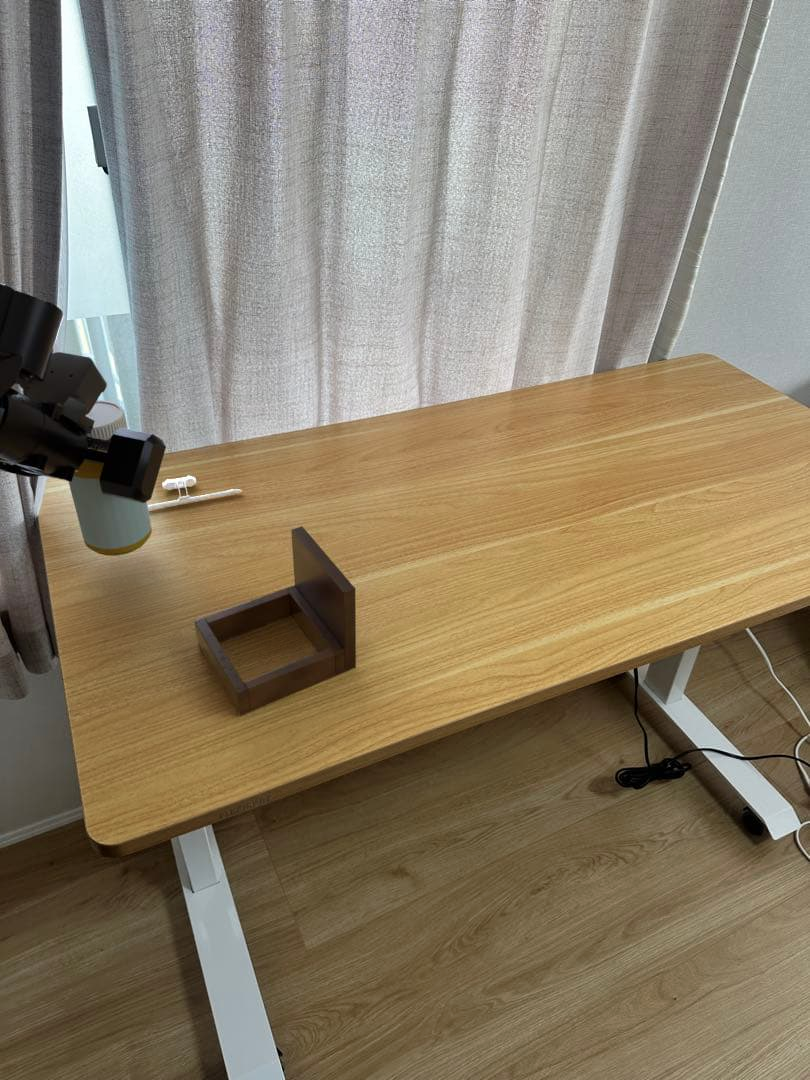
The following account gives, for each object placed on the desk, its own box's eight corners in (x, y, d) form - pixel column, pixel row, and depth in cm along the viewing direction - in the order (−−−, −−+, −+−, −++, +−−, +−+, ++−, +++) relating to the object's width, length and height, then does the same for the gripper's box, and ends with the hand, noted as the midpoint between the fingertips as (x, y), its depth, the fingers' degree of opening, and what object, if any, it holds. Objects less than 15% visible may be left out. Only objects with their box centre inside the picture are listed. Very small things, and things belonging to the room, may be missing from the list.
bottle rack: (240, 716, 72) (228, 635, 66) (197, 643, 79) (183, 563, 73) (356, 667, 77) (355, 588, 71) (306, 602, 84) (302, 525, 78)
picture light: (125, 516, 95) (122, 501, 93) (121, 496, 98) (118, 482, 97) (243, 494, 99) (241, 480, 98) (235, 476, 102) (234, 462, 101)
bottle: (139, 514, 91) (114, 392, 82) (162, 544, 86) (138, 419, 78) (76, 533, 88) (44, 408, 79) (97, 566, 83) (64, 437, 74)
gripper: (137, 356, 67) (214, 415, 83) (-48, 323, 72) (58, 385, 87) (99, 483, 66) (185, 519, 81) (-87, 442, 70) (28, 484, 85)
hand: (113, 473), depth 84 cm, fingers closed on bottle, 7 cm apart
